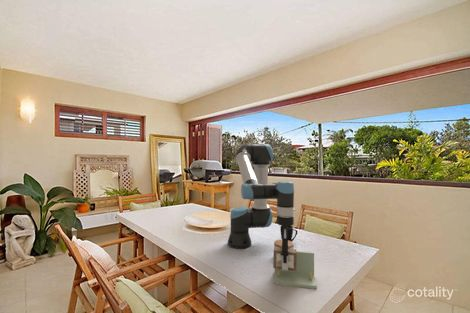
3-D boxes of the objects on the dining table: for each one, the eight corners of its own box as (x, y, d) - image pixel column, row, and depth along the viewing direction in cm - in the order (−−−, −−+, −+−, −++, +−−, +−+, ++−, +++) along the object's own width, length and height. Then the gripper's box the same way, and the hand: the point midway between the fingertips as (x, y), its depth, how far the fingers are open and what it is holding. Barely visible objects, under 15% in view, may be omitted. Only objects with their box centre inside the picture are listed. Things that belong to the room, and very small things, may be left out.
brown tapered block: (273, 268, 103) (273, 250, 103) (273, 264, 107) (274, 247, 107) (296, 271, 100) (296, 253, 100) (296, 266, 104) (296, 249, 104)
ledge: (273, 283, 100) (273, 258, 100) (274, 271, 110) (274, 248, 111) (316, 289, 96) (316, 262, 96) (313, 276, 106) (313, 252, 107)
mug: (292, 245, 144) (292, 230, 145) (277, 240, 154) (277, 226, 154) (300, 242, 150) (300, 228, 150) (285, 238, 159) (285, 224, 159)
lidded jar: (281, 262, 121) (281, 244, 121) (270, 254, 131) (270, 238, 131) (297, 258, 125) (297, 241, 125) (285, 251, 135) (285, 235, 135)
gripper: (294, 221, 95) (294, 277, 94) (293, 211, 111) (293, 259, 111) (275, 219, 96) (275, 275, 96) (277, 210, 113) (277, 258, 113)
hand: (285, 266), depth 104 cm, fingers closed on brown tapered block, 4 cm apart
